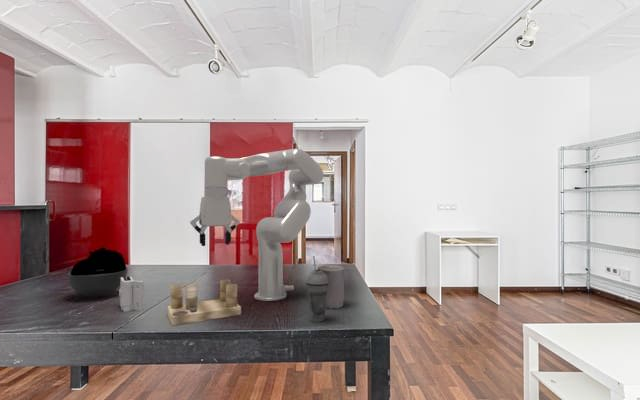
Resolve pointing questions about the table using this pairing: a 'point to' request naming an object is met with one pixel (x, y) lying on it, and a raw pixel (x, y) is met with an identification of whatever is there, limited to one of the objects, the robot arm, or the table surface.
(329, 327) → the table surface
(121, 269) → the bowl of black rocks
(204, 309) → the stool seat
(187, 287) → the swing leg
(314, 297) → the beverage cup
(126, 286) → the hinge
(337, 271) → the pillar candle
